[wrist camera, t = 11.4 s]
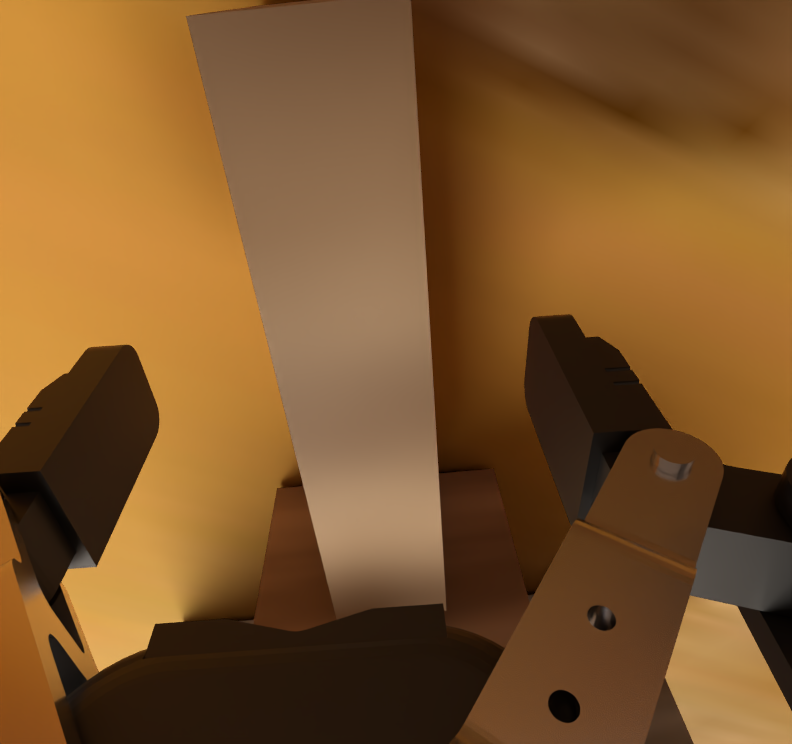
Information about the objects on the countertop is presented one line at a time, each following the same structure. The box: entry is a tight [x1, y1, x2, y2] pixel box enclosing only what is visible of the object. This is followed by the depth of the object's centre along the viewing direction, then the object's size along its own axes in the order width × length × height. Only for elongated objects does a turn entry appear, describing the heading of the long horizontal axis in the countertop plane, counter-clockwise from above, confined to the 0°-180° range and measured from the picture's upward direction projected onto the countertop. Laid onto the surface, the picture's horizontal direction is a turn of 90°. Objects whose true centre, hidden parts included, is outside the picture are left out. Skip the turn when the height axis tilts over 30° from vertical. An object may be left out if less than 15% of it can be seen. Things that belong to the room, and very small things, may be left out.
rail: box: [186, 0, 447, 620], centre depth 15 cm, size 18×3×6 cm, turn 5°
